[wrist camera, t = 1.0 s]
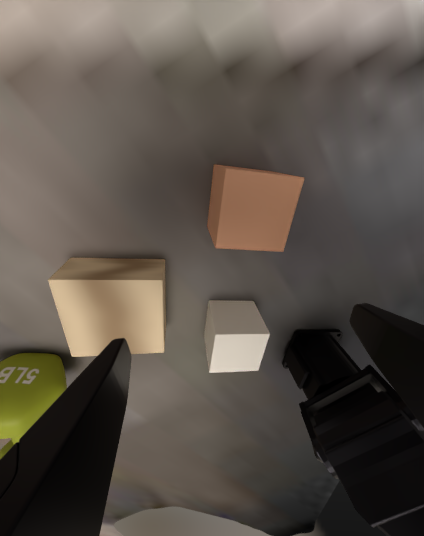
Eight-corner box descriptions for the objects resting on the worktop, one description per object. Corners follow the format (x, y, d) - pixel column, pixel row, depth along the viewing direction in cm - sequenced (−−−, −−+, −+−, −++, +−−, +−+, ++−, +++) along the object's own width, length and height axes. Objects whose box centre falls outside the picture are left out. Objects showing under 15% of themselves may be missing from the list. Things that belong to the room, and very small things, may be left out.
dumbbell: (-6, 344, 22) (-80, 421, 16) (80, 348, 24) (45, 419, 17) (20, 431, 29) (-24, 508, 23) (84, 429, 31) (60, 500, 24)
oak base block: (165, 258, 20) (162, 280, 17) (166, 323, 24) (164, 352, 20) (72, 256, 19) (47, 279, 15) (88, 325, 23) (72, 356, 19)
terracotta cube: (273, 171, 18) (304, 177, 13) (260, 230, 20) (283, 251, 16) (213, 164, 17) (226, 168, 12) (207, 226, 19) (215, 248, 15)
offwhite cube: (253, 300, 24) (269, 333, 19) (244, 334, 26) (258, 370, 22) (208, 299, 23) (215, 334, 19) (203, 334, 25) (209, 372, 21)
